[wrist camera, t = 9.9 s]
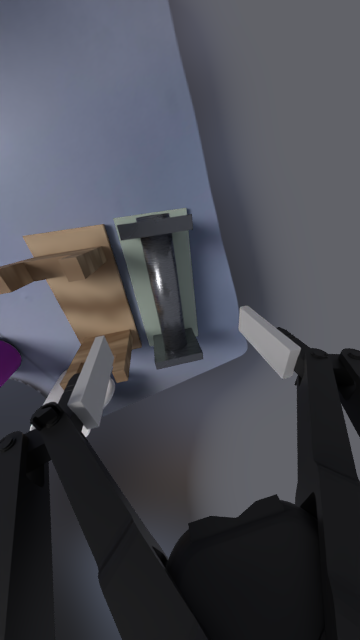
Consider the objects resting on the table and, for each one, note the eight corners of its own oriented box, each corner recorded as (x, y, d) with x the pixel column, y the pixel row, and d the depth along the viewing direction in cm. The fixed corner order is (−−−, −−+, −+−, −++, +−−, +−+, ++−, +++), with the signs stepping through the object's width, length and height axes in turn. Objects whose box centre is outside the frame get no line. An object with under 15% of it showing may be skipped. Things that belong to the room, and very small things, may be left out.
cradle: (27, 235, 22) (-62, 242, 13) (104, 224, 23) (74, 222, 14) (90, 355, 33) (67, 407, 23) (141, 344, 34) (140, 390, 24)
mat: (114, 218, 23) (113, 218, 22) (185, 208, 24) (186, 207, 23) (149, 344, 34) (149, 346, 33) (197, 334, 35) (198, 335, 34)
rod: (123, 221, 23) (114, 219, 16) (178, 213, 23) (191, 208, 17) (155, 343, 33) (157, 371, 27) (192, 335, 34) (203, 361, 27)
